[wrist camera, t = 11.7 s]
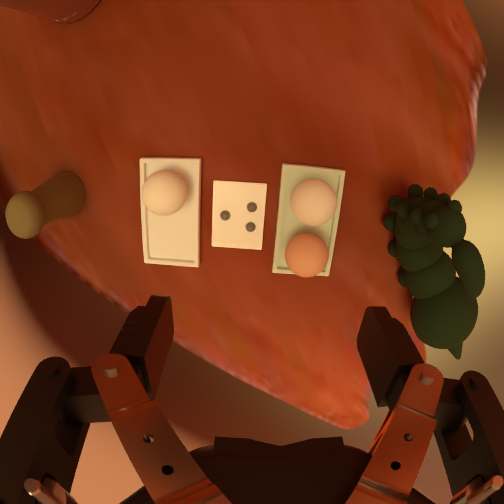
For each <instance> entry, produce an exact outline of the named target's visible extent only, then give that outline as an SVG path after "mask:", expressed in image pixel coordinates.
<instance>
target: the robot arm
mask: <svg viewBox="0 0 504 504" xmlns="http://www.w3.org/2000/svg"><path fill="white" fill-rule="evenodd" d="M99 2H100V0H0V6H4V7H8V8H12V9H16V10H19V11H23V12H26V13H30V14H33V15H36V16H39V17H43V18H46V19H49V20H51V21H54V22H58V23H61V24H68V23H72V22H75V21H78V20H79V19H81V18H83V17H84V16H86V15H87V14H88V13H90V12H91V11H92V10H93V9H94V8H95V7H96V5H97V4H98V3H99ZM173 334H174V325H173V315H172V305H171V298H170V296H159V295H151V297H150V299H149V301H148V303H147V305H146V306H138V307H137V308H135V309H134V310H133V311H132V312H130V314H129V316H128V318H127V319H126V323H124V325H123V327H122V330H121V331H120V333H119V335H118V337H117V339H116V341H115V343H114V345H113V346H112V348H111V351H110V352H109V354H106V355H103V356H100V357H99V358H97V359H96V360H95V361H94V363H93V364H92V366H89V367H76V368H70V365H69V363H68V362H67V361H66V360H65V359H63V358H61V357H50V358H47V359H44V360H43V361H41V362H40V363H39V364H38V366H37V367H36V369H35V371H34V372H33V374H32V376H31V378H30V380H29V381H28V383H27V385H26V387H25V389H24V391H23V393H22V395H21V397H20V398H19V400H18V402H17V405H16V406H15V408H14V410H13V412H12V414H11V416H10V418H9V420H8V423H7V425H6V427H5V429H4V431H3V433H2V435H1V438H0V504H78V503H77V501H76V500H75V499H74V498H73V497H72V496H71V495H70V491H71V487H72V483H73V479H74V476H75V472H76V469H77V465H78V462H79V458H80V455H81V451H82V448H83V445H84V442H85V438H86V435H87V432H88V429H89V426H90V423H94V422H109V421H111V422H112V424H113V426H114V428H115V430H116V432H117V434H118V437H119V439H120V441H121V443H122V445H123V447H124V449H125V451H126V453H127V454H128V457H129V459H130V461H131V462H132V464H133V466H134V468H135V470H136V472H137V473H138V475H139V477H140V479H141V481H142V482H143V484H144V486H143V487H142V488H140V489H139V490H137V491H136V492H135V493H133V494H132V495H131V496H129V497H128V498H126V499H125V500H124V501H122V502H121V503H120V504H435V503H434V502H432V501H431V500H429V499H428V498H426V497H425V496H424V495H422V494H421V493H420V492H418V491H417V490H416V489H414V488H413V485H414V483H415V480H416V478H417V475H418V473H419V471H420V468H421V466H422V463H423V461H424V457H425V455H426V452H427V449H428V447H429V444H430V441H431V438H432V435H433V432H434V435H435V438H436V441H437V444H438V448H439V451H440V454H441V457H442V460H443V464H444V467H445V470H446V474H447V477H448V481H449V484H450V488H451V492H452V495H453V498H452V499H451V501H450V504H504V410H503V409H502V406H501V404H500V402H499V400H498V398H497V397H496V395H495V393H494V391H493V389H492V387H491V386H490V384H489V382H488V380H487V379H486V378H485V377H484V376H483V375H482V374H480V373H479V372H476V371H467V372H465V373H464V374H463V375H462V376H461V378H460V380H456V379H448V378H443V375H442V373H441V372H440V371H439V369H437V368H436V367H434V366H432V365H430V364H426V363H424V361H423V359H422V357H421V355H420V353H419V352H418V350H417V348H416V346H415V344H414V342H412V339H411V337H410V335H408V332H407V330H406V328H405V327H404V325H403V324H402V323H400V322H399V321H398V320H397V319H396V318H392V317H391V315H390V314H389V312H388V310H387V308H386V307H374V306H369V307H367V308H366V310H365V314H364V317H363V320H362V323H361V327H360V330H359V333H358V337H357V348H358V351H359V354H360V357H361V360H362V362H363V365H364V368H365V371H366V374H367V377H368V380H369V382H370V385H371V388H372V391H373V394H374V397H375V400H376V403H377V406H378V407H384V406H388V407H389V412H388V413H387V415H386V417H385V419H384V421H383V423H382V425H381V427H380V429H379V431H378V433H377V435H376V436H375V438H374V440H373V442H372V444H371V446H370V447H369V449H368V451H367V452H365V451H363V450H361V449H358V448H355V447H352V446H347V445H344V443H343V439H342V437H329V438H313V439H308V440H305V441H301V442H297V443H293V444H288V445H284V446H277V445H273V444H268V443H264V442H259V441H255V440H251V439H247V438H245V439H244V438H228V437H215V442H214V445H210V446H205V447H201V448H198V449H195V450H192V451H190V452H188V451H187V449H186V448H185V446H184V445H183V444H182V442H181V441H180V439H179V437H178V436H177V435H176V433H175V432H174V430H173V429H172V427H171V425H170V424H169V423H168V421H167V419H166V418H165V416H164V415H163V413H162V411H161V410H160V408H159V407H158V405H157V404H156V402H155V397H156V394H157V391H158V387H159V384H160V380H161V377H162V374H163V370H164V367H165V364H166V360H167V357H168V354H169V351H170V347H171V344H172V341H173ZM467 420H468V421H469V423H470V425H471V428H472V430H473V434H474V438H473V441H472V439H471V437H470V434H469V432H468V429H467V427H466V424H465V423H466V421H467Z"/></svg>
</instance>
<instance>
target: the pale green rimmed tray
mask: <svg viewBox="0 0 504 504" xmlns="http://www.w3.org/2000/svg"><path fill="white" fill-rule="evenodd" d="M344 178H345V171H344V170H343V169H335V168H326V167H318V166H308V165H298V164H288V163H282V170H281V181H280V192H279V203H278V214H277V224H276V234H275V245H274V255H273V264H272V273H285V274H294V273H293V272H292V271H291V270H290V269H289V268H288V266H287V264H286V261H285V249H286V246H287V244H288V242H289V241H290V240H291V239H292V238H293V237H294V236H296V235H298V234H301V233H313V234H316V235H318V236H319V237H320V238H322V239H323V240H324V242H325V243H326V245H327V247H328V251H329V259H328V263H327V265H326V267H325V268H324V269H323V271H322V272H320V273H319V274H317V276H329V272H330V267H331V261H332V256H333V250H334V244H335V238H336V232H337V226H338V220H339V213H340V207H341V200H342V193H343V185H344ZM308 179H319V180H322V181H324V182H326V183H327V184H329V185H330V186H331V187H332V189H333V190H334V192H335V194H336V197H337V208H336V211H335V213H334V215H333V217H332V218H331V219H330V220H329V221H328V222H326V223H324V224H322V225H319V226H309V225H306V224H304V223H302V222H300V221H299V220H298V219H297V218H296V217H295V216H294V214H293V212H292V210H291V205H290V199H291V195H292V192H293V190H294V189H295V187H296V186H297V185H298V184H300V183H301V182H303V181H305V180H308Z"/></svg>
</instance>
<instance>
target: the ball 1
mask: <svg viewBox="0 0 504 504" xmlns="http://www.w3.org/2000/svg"><path fill="white" fill-rule="evenodd" d="M186 197H187V187H186V184H185V182H184V180H183V179H182V177H181V176H180V175H179V174H177V173H175V172H173V171H170V170H159V171H156V172H154V173H152V174H151V175H150V176H149V177H148V178H147V179H146V180H145V182H144V184H143V187H142V200H143V203H144V205H145V206H146V208H147V209H148V210H149V211H150V212H152V213H154V214H156V215H160V216H168V215H171V214H174V213H176V212H177V211H178V210H180V209H181V207H182V206H183V205H184V203H185V201H186Z"/></svg>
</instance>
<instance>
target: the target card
mask: <svg viewBox="0 0 504 504" xmlns="http://www.w3.org/2000/svg"><path fill="white" fill-rule="evenodd" d="M266 190H267V184H266V183H252V182H237V181H219V180H214V183H213V215H212V246H215V247H229V248H243V249H257V250H262V239H263V227H264V215H265V203H266Z"/></svg>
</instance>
